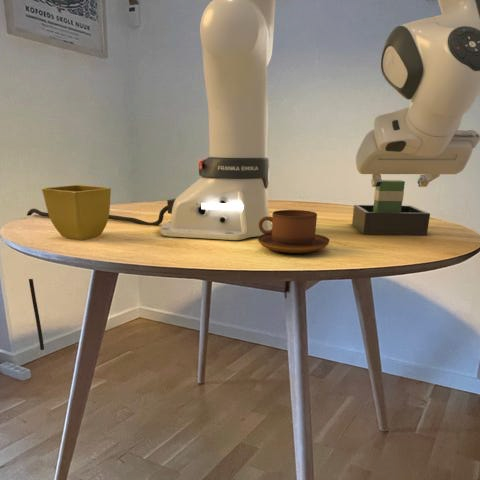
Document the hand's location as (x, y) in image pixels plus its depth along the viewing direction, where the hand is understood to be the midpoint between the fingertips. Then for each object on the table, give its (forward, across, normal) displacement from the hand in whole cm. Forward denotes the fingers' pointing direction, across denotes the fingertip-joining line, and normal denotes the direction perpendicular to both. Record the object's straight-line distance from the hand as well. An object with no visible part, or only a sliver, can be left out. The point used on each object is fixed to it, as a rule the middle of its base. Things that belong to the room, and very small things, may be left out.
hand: (398, 184), depth 93 cm
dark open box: (+8, 0, +5) cm, 10 cm away
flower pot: (+3, +62, +10) cm, 63 cm away
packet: (+9, 0, +3) cm, 10 cm away
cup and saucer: (-5, +24, +19) cm, 30 cm away
